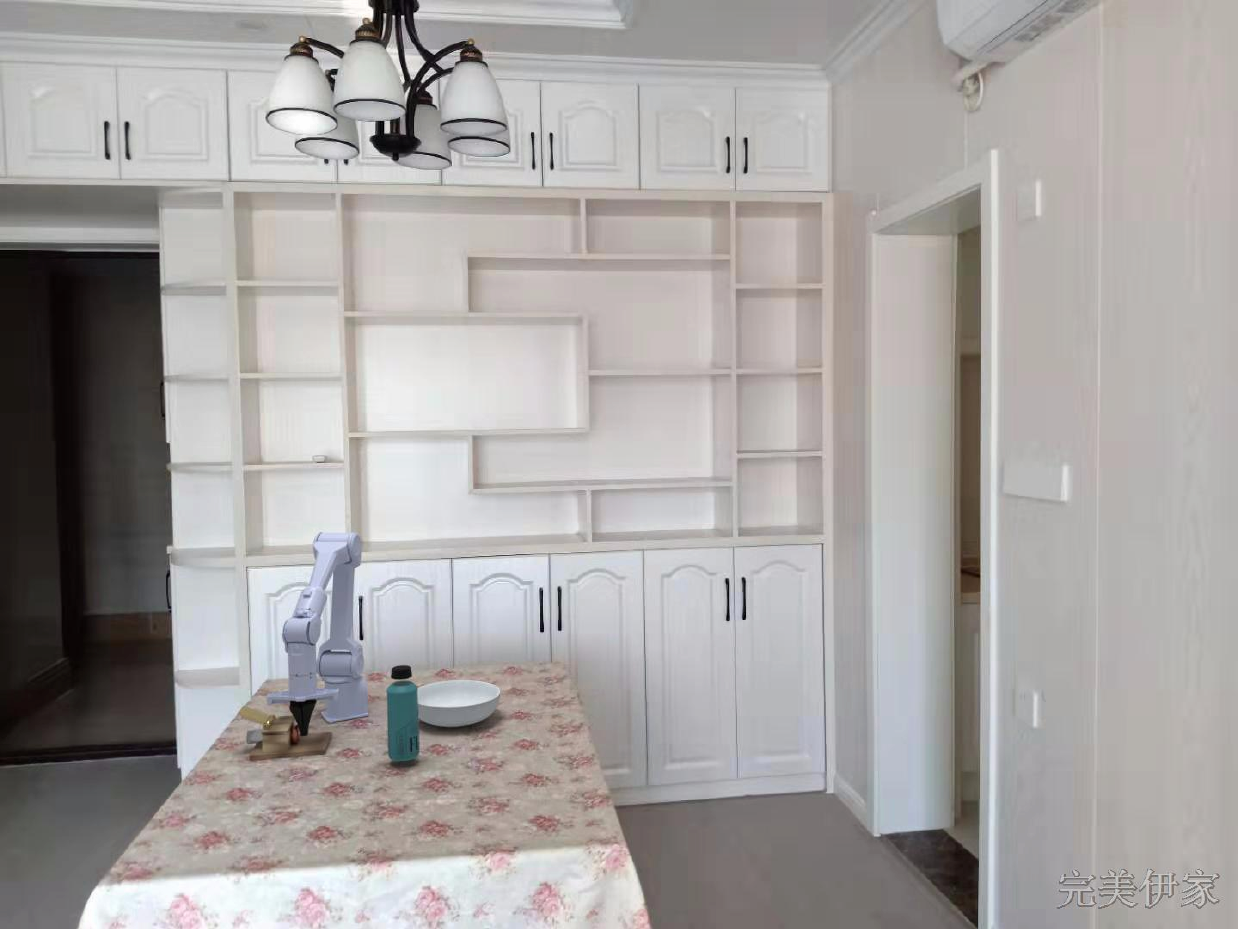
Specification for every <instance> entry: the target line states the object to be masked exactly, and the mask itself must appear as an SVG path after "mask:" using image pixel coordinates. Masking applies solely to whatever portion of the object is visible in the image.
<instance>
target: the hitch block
mask: <svg viewBox="0 0 1238 929" xmlns="http://www.w3.org/2000/svg"><path fill="white" fill-rule="evenodd" d="M268 715H269V716H273V717H274V719H273V721H272V723H271V725H270V724H263V725H262V730H263V732H262V743H258V744H254V745H255V746H254V747H253V749H252V750H251V753H249V761H261V760H272V759H274V760H275V759H285V758H296V757H297V758H298V757H310V756H325V755H326V754H327V753H326V752H327V751H328V747H329V745H330V743H331V742H330V741H331V739H332V736H333V731H321V732H319V731H318V732H310V733H309V732H308V734H307V736H300V735H299V742H298V743H291V741H290V728H291V727H292V725H297V722H296V720H295V718H294V716H293V715H281V716H276V714H268Z"/></svg>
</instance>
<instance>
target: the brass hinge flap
mask: <svg viewBox="0 0 1238 929" xmlns="http://www.w3.org/2000/svg"><path fill="white" fill-rule="evenodd" d="M237 712H238V713H237V714H236V716H239V717H242V718H244V719H246V720H248V721H252V722H253V723H257V724H258V725H261V726H263V724H270V725H271V723H272V721H273V719H274V717H273V716H269V715H270V714H266V713H264V712H262V711H259V710H257V709H255V708H251V707H250V706H249V707H248V706H246V705H242V706H241V708H240V709H239V711H237Z"/></svg>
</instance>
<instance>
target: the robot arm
mask: <svg viewBox="0 0 1238 929" xmlns="http://www.w3.org/2000/svg"><path fill="white" fill-rule="evenodd" d="M312 540H313V542H312V551H313V557H314V559H315V561H314V565H313V568H312V572H311V576H310V580H309V584H308V587H305V588H303V589H302V590H301V592H300V594H299V597H298V600H297V603H296V606H295V607H294V610H293V613H292V615H291V617H289V618H288V619H286V620H285V621H284V623H283V626H282V632H281V639H282V642H283V644H284V651H285V653H286V654H287V668H288V669H287V671H288V690H285V691H281V692H273V693H268V694H267V695H266V706H272V705H275V704H276V705H277V704H287V703H289V707H288V708H289V712H290V714H292V715H291V716H294V718H295V721H296V725H298V728H299V731H300V736H307V734H308V733H309V728H310V723H311V719H312V715H313V712H314V709H315V707H316V705H317V703H318V701H325V702H324V706H325V710H324V711H321V712H320V715H321V716H322V718H324V720H325V721H326V722H327V723H329V724H330V723H337V722H341V721H346V720H352V719H358V718H363V717H368V716H369V711H368V710H369V706H368V705H369V704H368V684H367V680H366V677H365V676H364V675H362V674H363V672H364V665H365V658H364V651H363V645H362V644H361V643H360V642H358V641H357V640H355V638H353V637H352V632H353V631H352V628H353V608H354V592H355V591H354V588H355V587H354V586H355V572H356V571H355V570H356V568H358V567H360V566H361V563H362V562H361V561H362V553H363V552H362V551H363V550H362V548H363V542H362V539H361V537H360V535H359V533H357V532H355V531H353V532H323V531H319V532H317V534H316V535H314V537H313V539H312ZM331 578H332V590H331V607H330V609H331V610H330V627H329V638H328V639H327V640H326V641H325V642H323V643H322V644H321V645H319V648H318V653H317V643H318V641H319V640H320V637H321V633H322V632H321V628H322V622H323V621H322V614H323V612H324V609H325V606H326V603H327V600H328V594H327V593H326V592H325V591H326V589H327V586H328V584H329V582H330V580H331ZM335 650H336V651H335ZM317 654H318V655H317ZM318 677H319V678H321V681H322V682H324V688H318Z"/></svg>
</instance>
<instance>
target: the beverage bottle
mask: <svg viewBox="0 0 1238 929" xmlns="http://www.w3.org/2000/svg"><path fill="white" fill-rule="evenodd" d="M412 675H413V674H412V666H411V665H408V664H400V665H395V666H393V667H392V668H391V675H390V678H391V679H392V680H396V681H393V682H392V683H390V685H388V687H387V688H386V707H387V708H386V710H387V711H386V712H387V713H386V716H387V720H386V723H387V724H386V728H387V733H386V735H387V746H386V747H387V755H388V758H389V759H390V760H392V761H395V762H405V761H406V762H407V761H411V760H413V759H416V758H418V756H419V755H420V750H421V739H420V727H419V725H420V723H419V718H418V712H419V711H418V704H419V703H418V696H417V689H418V688H419V687H418V686H417V684H415V683H414V682H413V681H412V680H408V679H411V678H412Z"/></svg>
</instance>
